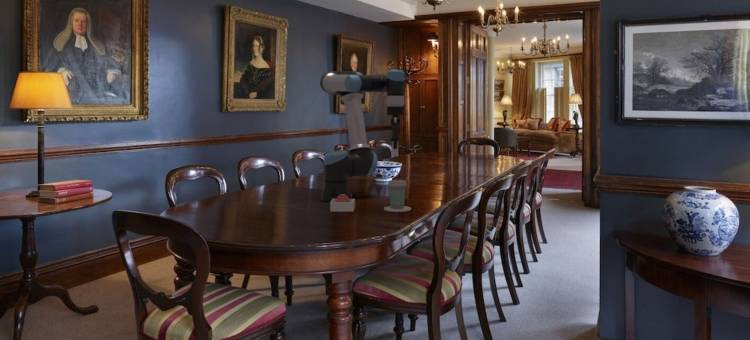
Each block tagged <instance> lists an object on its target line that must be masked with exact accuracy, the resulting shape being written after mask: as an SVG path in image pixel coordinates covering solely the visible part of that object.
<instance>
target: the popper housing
mask: <svg viewBox="0 0 750 340" xmlns="http://www.w3.org/2000/svg"><path fill="white" fill-rule="evenodd" d="M335 200H336V199H332V201H331V202H330V201H329V209H330V213H331V212H336V213H337V212H338V213H339V212H340V213H342V212H345V213H347V212H349V213H351V212H352V213H354V211H355V209H356V199H355V198H352V199H350V200H352V202H334V201H335Z"/></svg>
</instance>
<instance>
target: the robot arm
mask: <svg viewBox="0 0 750 340" xmlns="http://www.w3.org/2000/svg"><path fill="white" fill-rule="evenodd" d="M405 80H406V78H405V71H404V70H403V69H388V70H387V71H386V74H383V75H382V74H362V72H360V71H353V70H351V71H348V70H347V71H341V70H339V71H338V70H335V71H334V70H332V71H331V70H330V71H327V72H325V73H323V75H321V77H320V80H319V86H320V89H321V90H322V91H323V92H324V93H327V94H330V95H335V96H336V95H337V96H338V95H339V96H340V97H339V98H340V100H341V101H342V102H343V103H344V110H345V117H346V124H347V130H348V131H347V132H348V137H349V138H348V139H349V146H350V148H349V149H348V151H347V150H337V151H336V150H335V151H330V152H328V153H326V154H325V155H324V156H323V179H324V180H323V181H324V184H323V188H322V190H321V194H320V200H321V201H324V202H329V203H330V202H331V201H332V199H336V198H338V196H340V194H346V196H348V198H350V199H353V194H352V191H351V188H350V184H349V178H354V177H355V178H356V177H367V176H373V175H374V174H375V172H376V171H377V168H378V163H379V162H378V156H377V153H376V152H374V151H372V147H371V146H369V144H368V139H367V132H366V126H365V119H364V111H363V106H362V105H363V104H362V99H363V98H364V94H365V93H386V98H385V99H384V100H385V101H386V105H387V107H386V115H387V116H392V118H391V119H390V124H391V128H390V129H392V134H391V135H392V136H391V138H390V142H391V157H399V139H401V138H400V137H401V136H400V135H399V129H400V123H401V120H400V118H399V116H404V115H405V107H404V105H405Z"/></svg>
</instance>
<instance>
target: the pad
mask: <svg viewBox="0 0 750 340" xmlns="http://www.w3.org/2000/svg"><path fill="white" fill-rule="evenodd" d="M411 210H412V207H410V206H407V205H404V208H402V209H392V208H391V206H390V205H389V206H388V205H387V206H385V207H383V211H386V212H390V213H391V212H392V213H402V212H410V211H411Z"/></svg>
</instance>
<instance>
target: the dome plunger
mask: <svg viewBox="0 0 750 340" xmlns="http://www.w3.org/2000/svg"><path fill="white" fill-rule="evenodd" d="M334 202H352V200H350V198H348V196H346V194H340V196H338V198H336V200H335V201H334Z"/></svg>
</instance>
